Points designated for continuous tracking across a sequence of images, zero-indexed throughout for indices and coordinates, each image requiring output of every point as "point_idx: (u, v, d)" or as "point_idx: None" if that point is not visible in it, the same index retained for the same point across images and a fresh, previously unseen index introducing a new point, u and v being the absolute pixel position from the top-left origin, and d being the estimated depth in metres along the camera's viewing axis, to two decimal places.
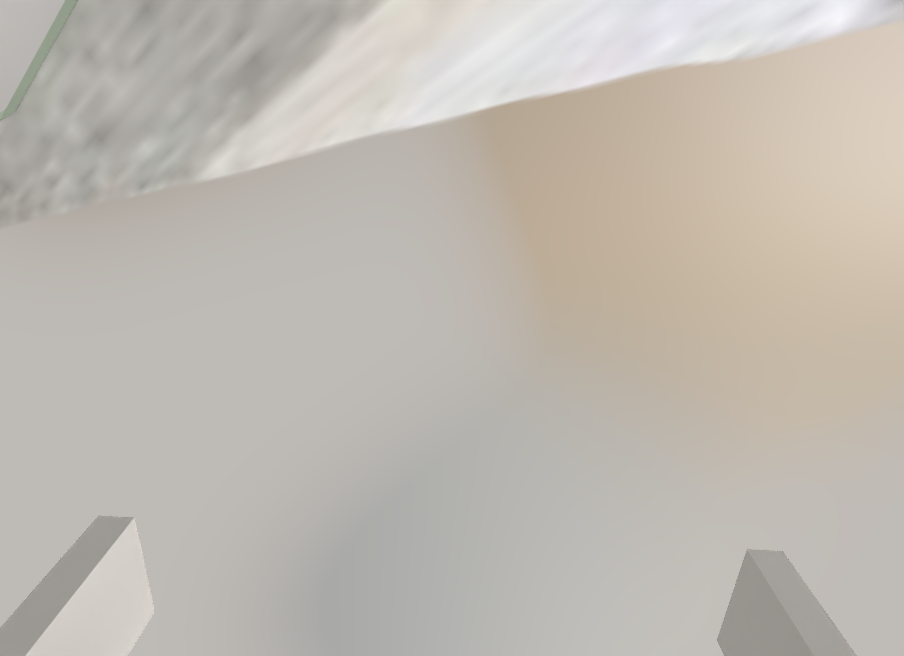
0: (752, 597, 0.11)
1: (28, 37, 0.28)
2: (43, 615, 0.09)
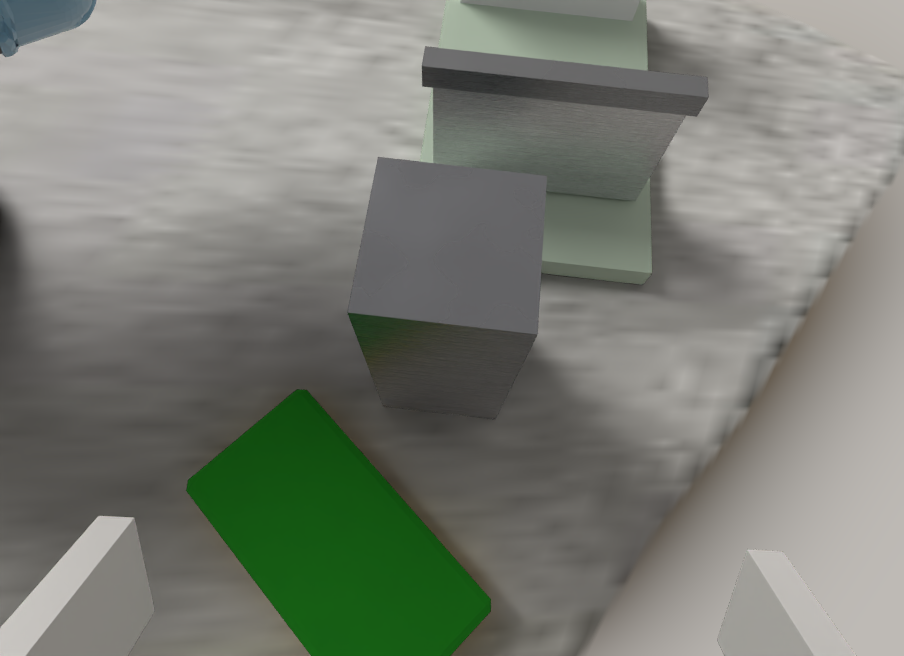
0: (752, 597, 0.11)
1: None
2: (43, 615, 0.09)
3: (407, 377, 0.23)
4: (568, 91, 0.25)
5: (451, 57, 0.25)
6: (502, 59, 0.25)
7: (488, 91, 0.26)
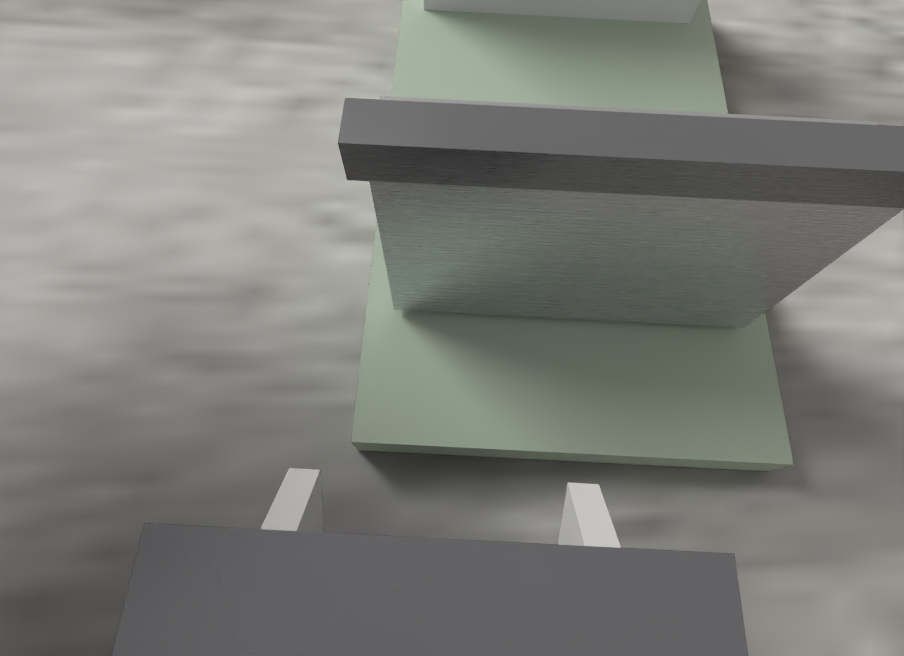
0: (568, 522, 0.13)
1: None
2: None
3: None
4: (661, 177, 0.12)
5: (403, 119, 0.11)
6: (515, 117, 0.12)
7: (487, 183, 0.12)
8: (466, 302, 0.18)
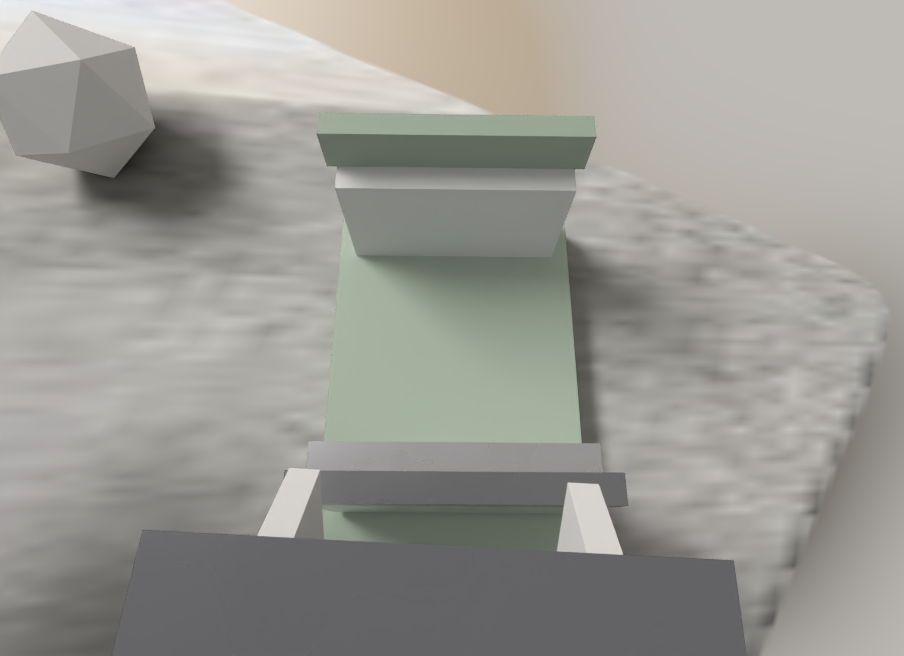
0: (568, 522, 0.13)
1: None
2: None
3: None
4: (462, 505, 0.21)
5: None
6: (379, 478, 0.21)
7: (368, 505, 0.22)
8: None
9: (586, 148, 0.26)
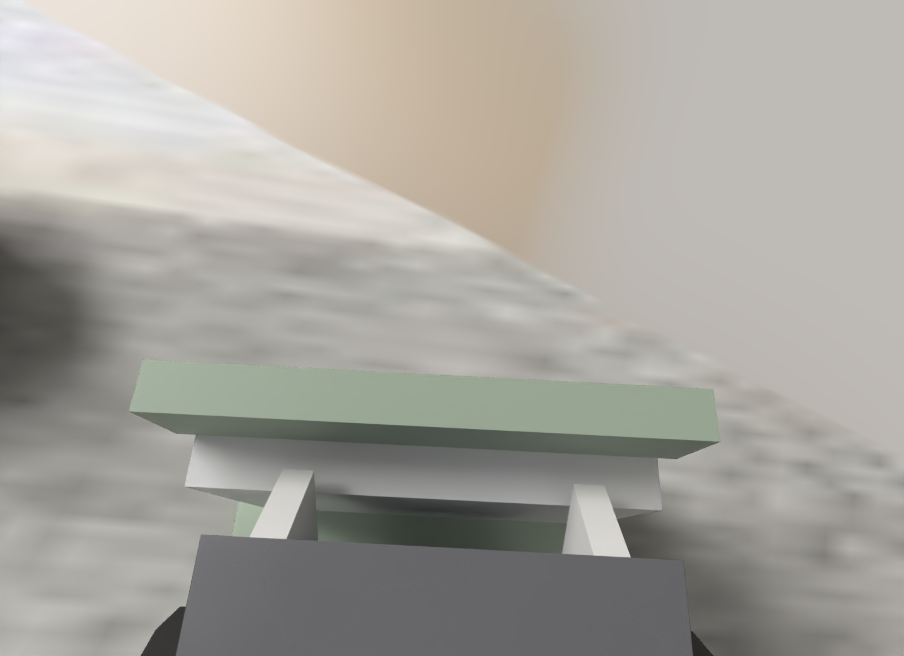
0: (574, 524, 0.13)
1: None
2: None
3: None
4: None
5: None
6: None
7: None
8: None
9: (692, 447, 0.13)
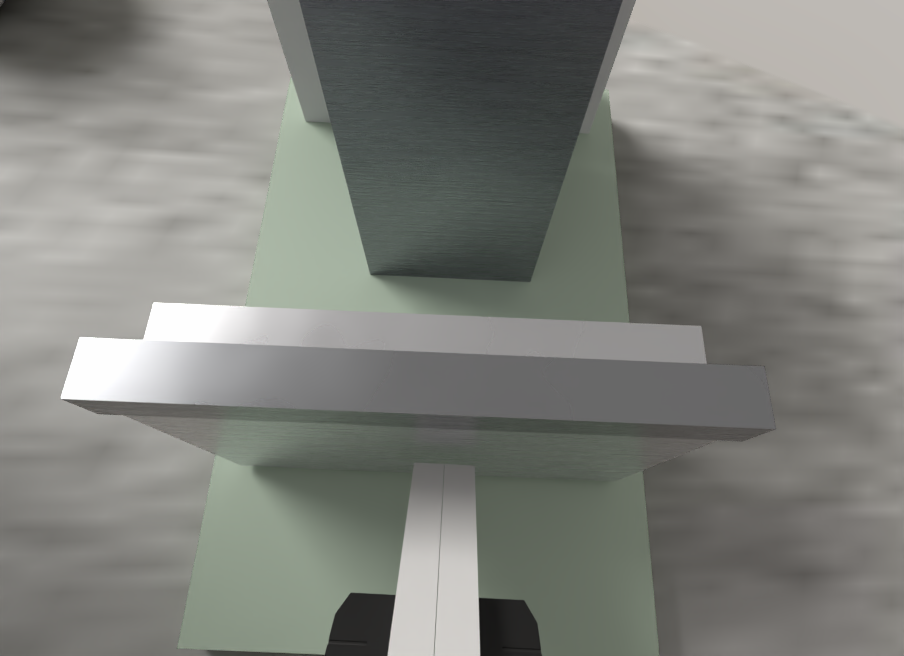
0: None
1: None
2: (429, 533, 0.12)
3: (400, 167, 0.15)
4: (435, 421, 0.10)
5: (139, 365, 0.10)
6: (267, 359, 0.10)
7: (251, 419, 0.11)
8: (310, 464, 0.17)
9: None
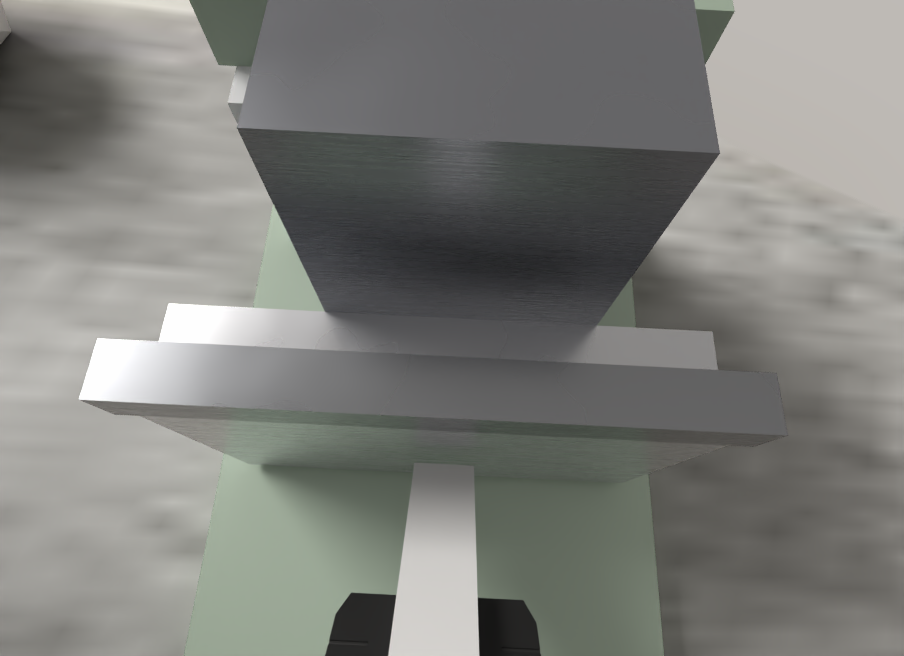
0: None
1: None
2: (430, 533, 0.12)
3: None
4: (450, 425, 0.11)
5: (157, 367, 0.10)
6: (284, 362, 0.10)
7: (267, 420, 0.11)
8: (319, 464, 0.17)
9: (707, 40, 0.14)
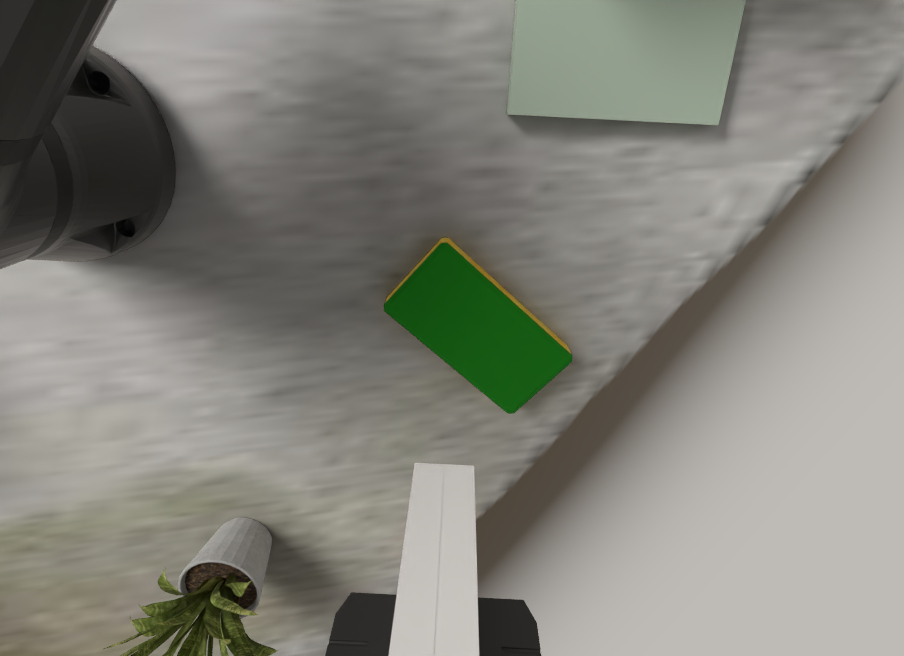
0: None
1: None
2: (430, 533, 0.12)
3: None
4: None
5: None
6: None
7: None
8: None
9: None
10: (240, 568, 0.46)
